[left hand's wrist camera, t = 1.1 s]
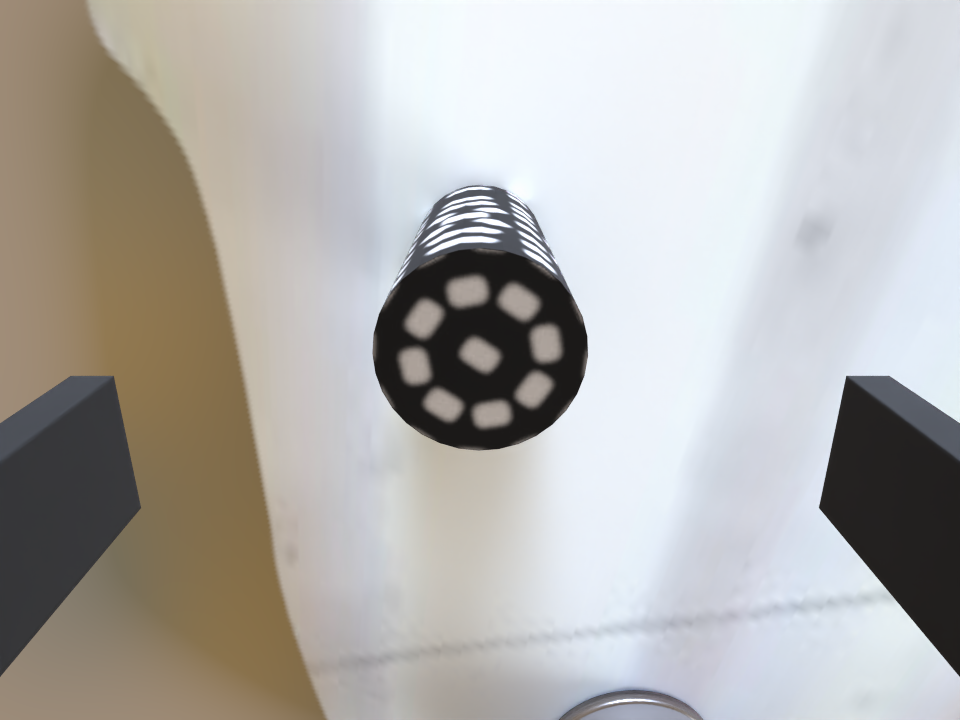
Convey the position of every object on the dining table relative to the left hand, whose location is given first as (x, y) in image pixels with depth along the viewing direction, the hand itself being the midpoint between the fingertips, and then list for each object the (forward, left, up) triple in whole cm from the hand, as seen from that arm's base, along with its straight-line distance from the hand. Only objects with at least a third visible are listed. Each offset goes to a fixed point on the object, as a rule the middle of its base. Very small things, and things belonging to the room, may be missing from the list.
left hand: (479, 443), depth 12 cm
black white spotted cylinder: (-3, 0, -24) cm, 24 cm away
